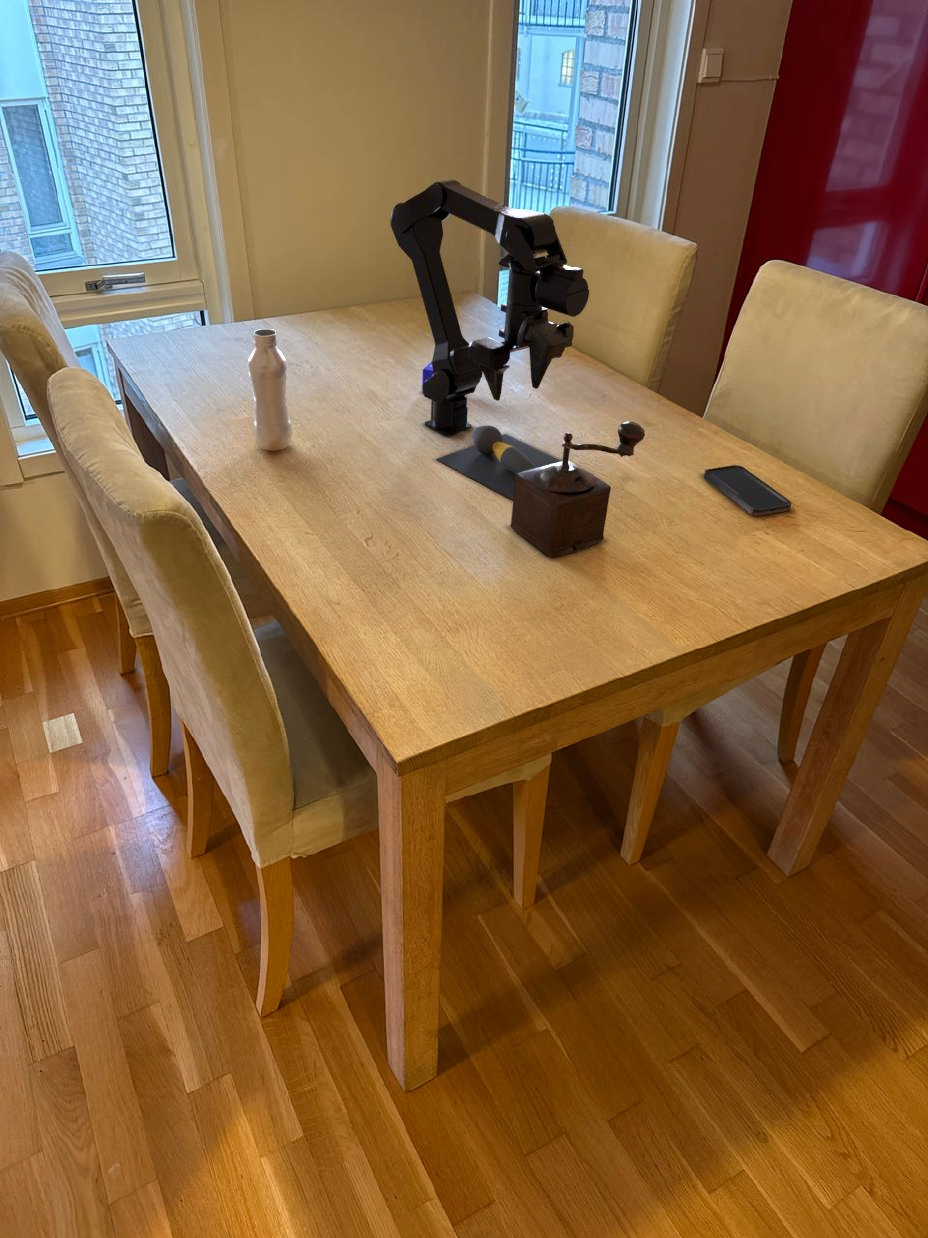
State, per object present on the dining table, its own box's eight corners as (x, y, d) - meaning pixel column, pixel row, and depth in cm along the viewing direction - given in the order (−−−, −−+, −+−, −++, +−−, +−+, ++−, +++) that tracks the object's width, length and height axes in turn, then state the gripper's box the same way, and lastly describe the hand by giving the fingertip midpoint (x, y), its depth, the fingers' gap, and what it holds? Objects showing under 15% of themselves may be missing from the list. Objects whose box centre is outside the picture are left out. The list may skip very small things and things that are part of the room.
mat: (435, 459, 155) (435, 458, 155) (505, 434, 165) (505, 433, 165) (518, 504, 144) (519, 503, 144) (587, 474, 154) (588, 473, 153)
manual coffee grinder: (552, 561, 130) (567, 447, 120) (508, 527, 137) (518, 417, 127) (632, 535, 137) (652, 425, 127) (586, 504, 145) (601, 398, 134)
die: (445, 397, 178) (446, 373, 175) (421, 393, 179) (422, 369, 176) (453, 388, 182) (454, 364, 179) (430, 384, 183) (431, 360, 180)
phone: (739, 464, 157) (794, 503, 146) (738, 470, 157) (792, 510, 146) (701, 469, 154) (754, 510, 143) (700, 475, 155) (753, 517, 144)
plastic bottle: (300, 442, 158) (292, 329, 146) (281, 458, 153) (272, 341, 141) (267, 435, 160) (257, 323, 148) (247, 450, 154) (236, 335, 143)
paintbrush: (557, 482, 150) (560, 454, 147) (535, 490, 147) (538, 462, 144) (480, 440, 162) (482, 414, 159) (459, 447, 159) (460, 420, 157)
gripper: (518, 324, 133) (509, 423, 142) (601, 303, 143) (588, 397, 152) (468, 304, 139) (462, 400, 148) (551, 286, 150) (541, 376, 159)
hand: (516, 393), depth 152 cm, fingers open, 9 cm apart
